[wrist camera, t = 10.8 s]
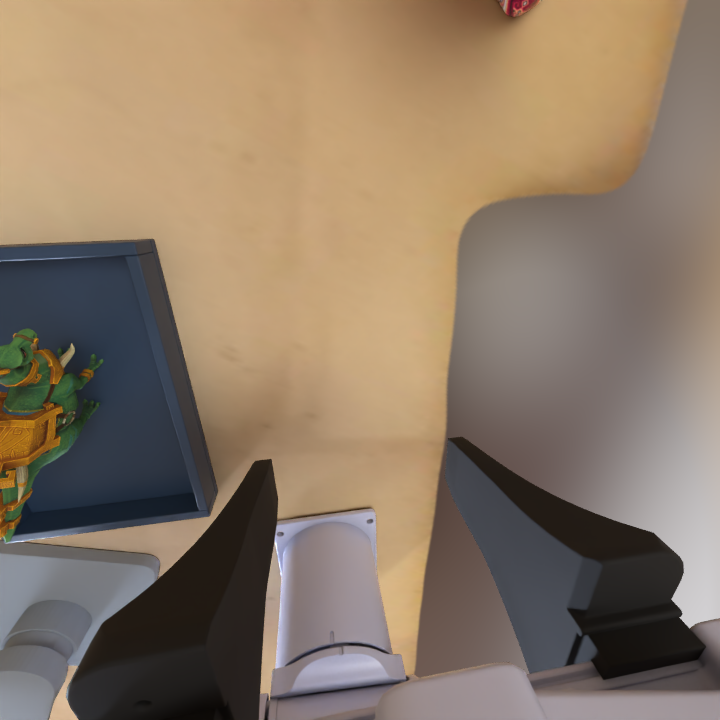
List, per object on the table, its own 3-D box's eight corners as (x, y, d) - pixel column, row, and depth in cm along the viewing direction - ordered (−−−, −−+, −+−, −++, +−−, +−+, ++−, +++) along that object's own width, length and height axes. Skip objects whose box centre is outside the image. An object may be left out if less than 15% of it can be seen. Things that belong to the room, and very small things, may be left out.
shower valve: (-98, 767, 23) (-132, 624, 18) (-26, 669, 28) (-37, 536, 23) (108, 758, 26) (127, 634, 21) (140, 671, 31) (161, 555, 26)
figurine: (121, 314, 19) (-4, 379, 11) (93, 482, 22) (-14, 615, 15) (56, 294, 18) (-126, 351, 10) (38, 472, 21) (-104, 608, 14)
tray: (218, 491, 25) (210, 516, 22) (32, 514, 23) (4, 544, 21) (154, 239, 18) (134, 241, 16) (-114, 249, 16) (-176, 254, 14)
